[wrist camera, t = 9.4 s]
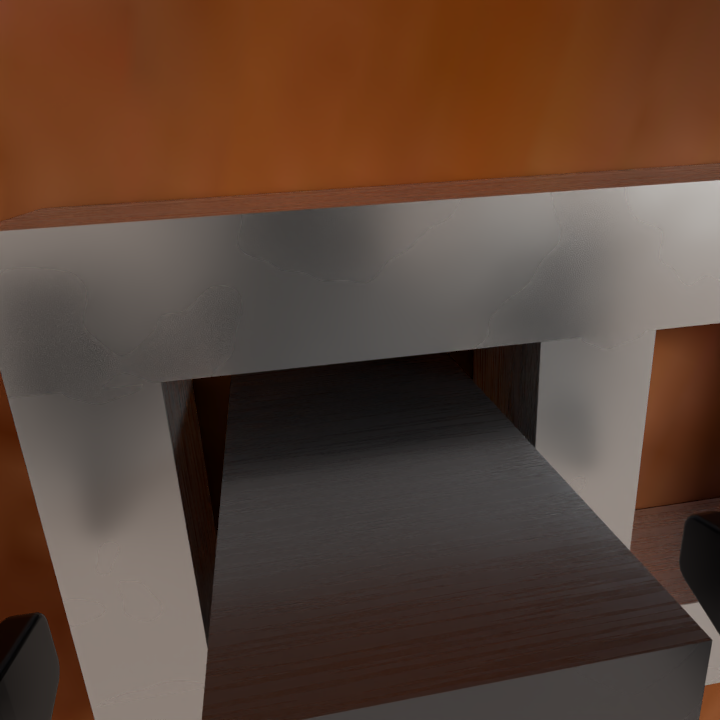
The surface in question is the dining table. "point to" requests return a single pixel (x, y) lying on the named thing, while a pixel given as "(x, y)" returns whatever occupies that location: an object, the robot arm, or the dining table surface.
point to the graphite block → (423, 564)
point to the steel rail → (322, 347)
